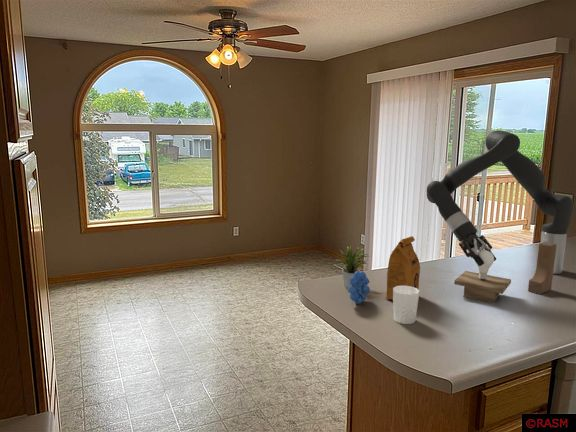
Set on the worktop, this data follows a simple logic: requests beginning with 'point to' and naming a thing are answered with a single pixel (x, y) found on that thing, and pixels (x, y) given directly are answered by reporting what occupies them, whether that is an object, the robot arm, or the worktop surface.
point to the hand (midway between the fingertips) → (488, 262)
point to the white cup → (405, 304)
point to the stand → (482, 286)
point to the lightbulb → (485, 263)
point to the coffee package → (403, 267)
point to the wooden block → (543, 269)
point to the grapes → (358, 287)
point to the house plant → (351, 264)
